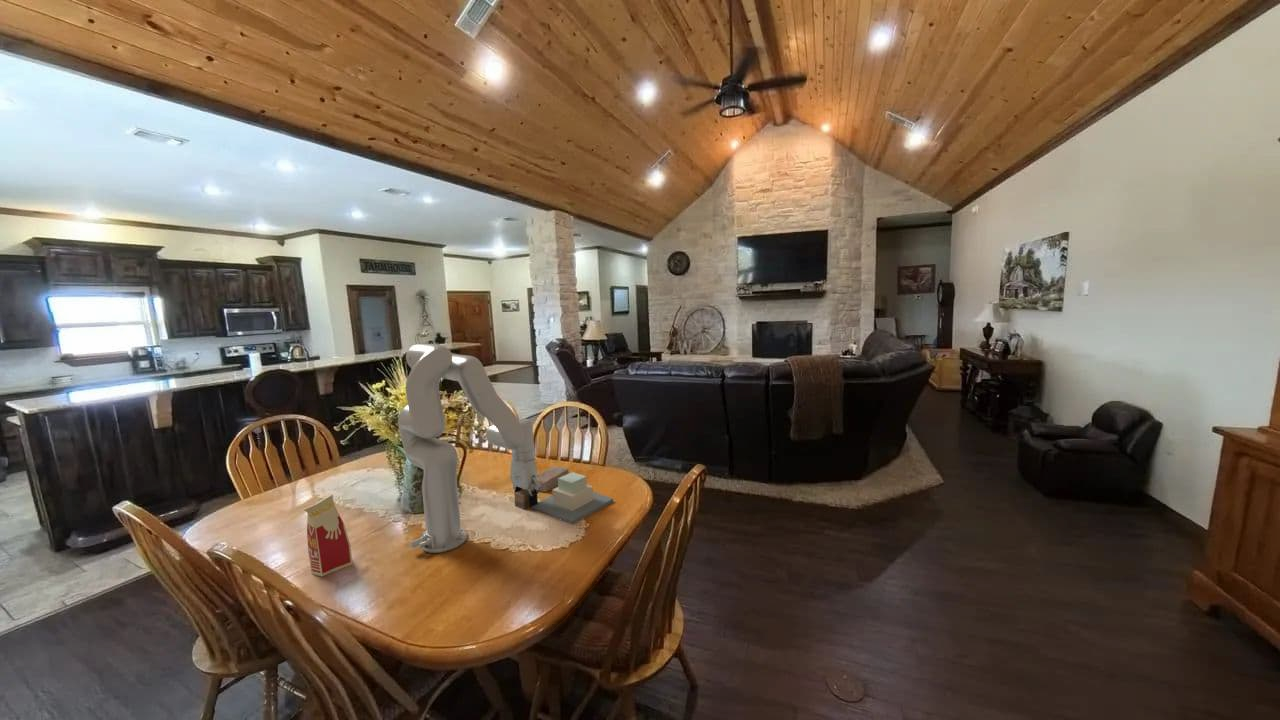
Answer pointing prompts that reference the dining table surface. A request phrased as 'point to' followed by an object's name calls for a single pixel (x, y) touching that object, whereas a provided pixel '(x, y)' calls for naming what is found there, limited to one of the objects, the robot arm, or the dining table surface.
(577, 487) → the green block
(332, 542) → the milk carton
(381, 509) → the dining table surface
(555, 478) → the brick
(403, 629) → the dining table surface
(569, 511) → the foundation
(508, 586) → the dining table surface
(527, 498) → the walnut cube
